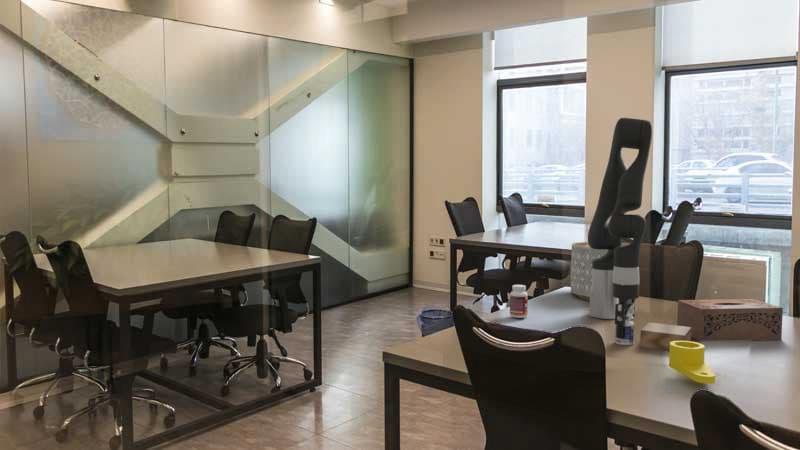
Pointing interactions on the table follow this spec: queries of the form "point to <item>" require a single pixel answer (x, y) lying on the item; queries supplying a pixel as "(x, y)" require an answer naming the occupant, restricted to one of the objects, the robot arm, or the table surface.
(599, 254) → the planter
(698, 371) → the crank
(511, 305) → the pill bottle
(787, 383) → the table surface
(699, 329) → the tissue box cover
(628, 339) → the pill bottle
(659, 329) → the walnut block
